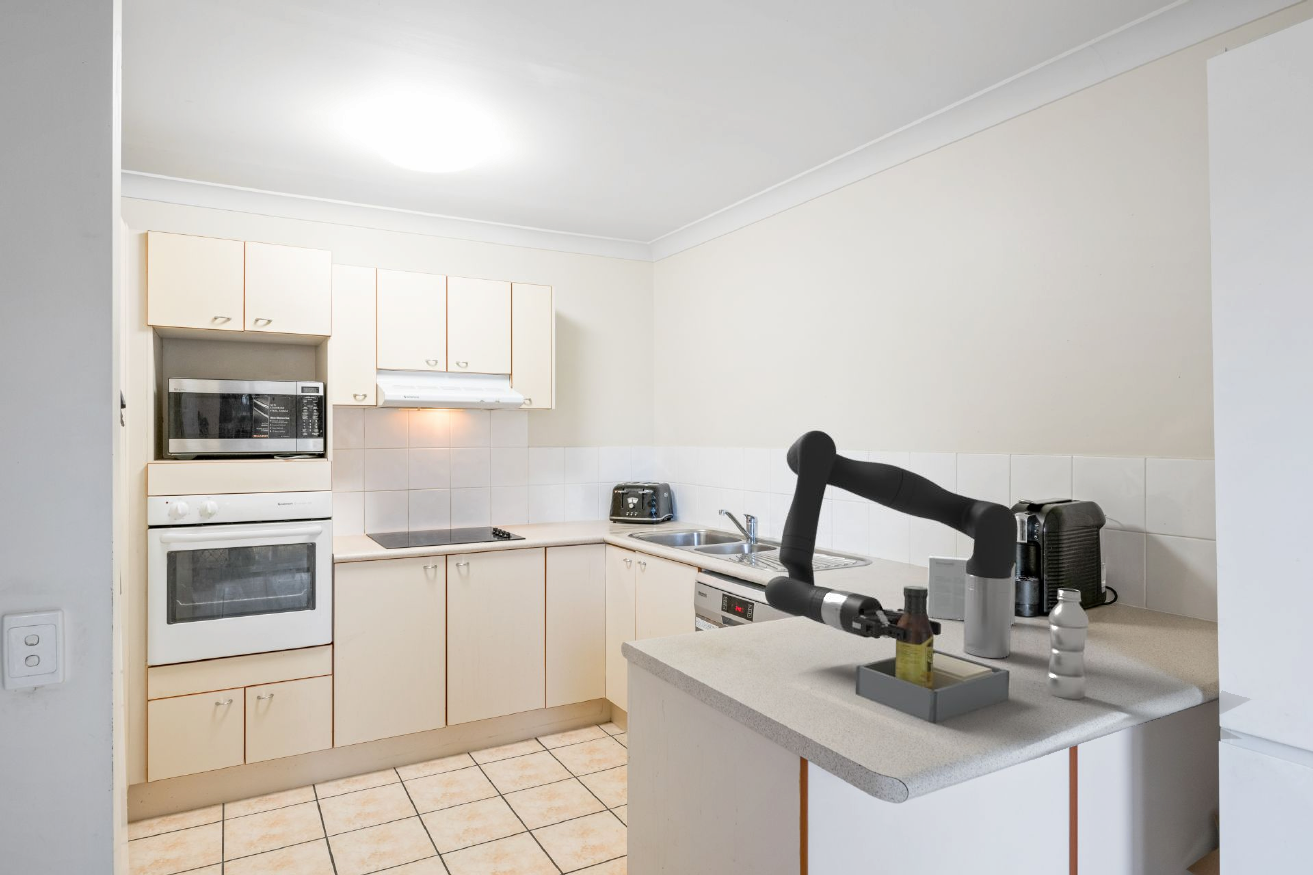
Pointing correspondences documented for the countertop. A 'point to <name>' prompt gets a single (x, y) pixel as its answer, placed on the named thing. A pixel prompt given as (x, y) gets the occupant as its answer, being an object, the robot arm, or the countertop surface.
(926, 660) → the sauce bottle
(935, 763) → the countertop surface
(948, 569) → the skincare box
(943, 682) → the cream rectangular box
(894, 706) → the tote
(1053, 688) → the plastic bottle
